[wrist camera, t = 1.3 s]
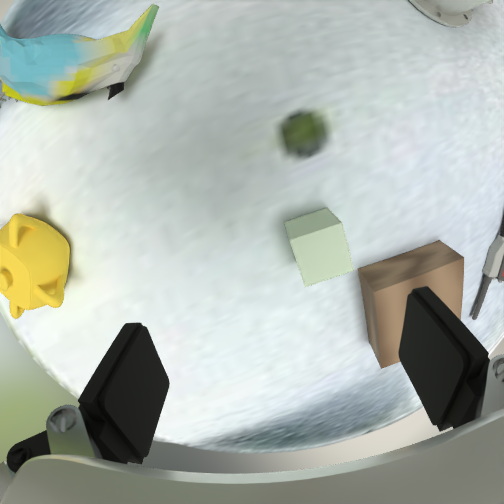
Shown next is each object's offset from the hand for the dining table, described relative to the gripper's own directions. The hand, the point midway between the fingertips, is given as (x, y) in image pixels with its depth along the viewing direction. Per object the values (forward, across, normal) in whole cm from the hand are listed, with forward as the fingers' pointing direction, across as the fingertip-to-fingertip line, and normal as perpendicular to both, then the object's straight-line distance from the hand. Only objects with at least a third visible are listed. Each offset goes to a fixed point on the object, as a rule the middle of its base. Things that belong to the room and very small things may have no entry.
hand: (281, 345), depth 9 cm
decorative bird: (+23, +19, -26) cm, 40 cm away
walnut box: (+23, -17, +14) cm, 31 cm away
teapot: (+23, +32, 0) cm, 39 cm away
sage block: (+22, -5, +4) cm, 23 cm away
